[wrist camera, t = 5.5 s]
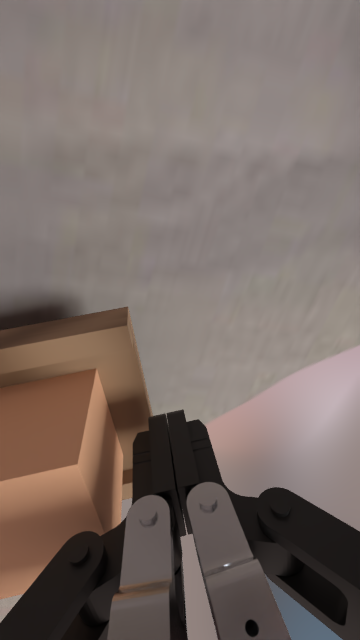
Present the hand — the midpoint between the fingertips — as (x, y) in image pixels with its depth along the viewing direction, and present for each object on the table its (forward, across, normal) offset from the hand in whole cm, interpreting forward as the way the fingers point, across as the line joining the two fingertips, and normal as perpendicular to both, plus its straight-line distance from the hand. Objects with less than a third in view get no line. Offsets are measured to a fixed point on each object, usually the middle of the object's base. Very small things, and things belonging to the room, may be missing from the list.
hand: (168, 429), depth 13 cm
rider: (+2, +6, 0) cm, 6 cm away
